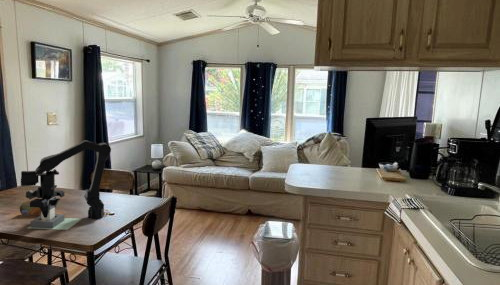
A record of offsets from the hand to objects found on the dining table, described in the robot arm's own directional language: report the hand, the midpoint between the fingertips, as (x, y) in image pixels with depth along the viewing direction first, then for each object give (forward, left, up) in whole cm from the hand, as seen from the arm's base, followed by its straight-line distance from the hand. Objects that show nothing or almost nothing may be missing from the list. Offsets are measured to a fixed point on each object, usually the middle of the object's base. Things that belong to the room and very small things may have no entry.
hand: (48, 215), depth 151 cm
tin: (+12, -12, -5) cm, 18 cm away
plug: (0, 0, -1) cm, 1 cm away
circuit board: (-3, -1, -5) cm, 6 cm away
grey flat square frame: (0, 0, -4) cm, 4 cm away
